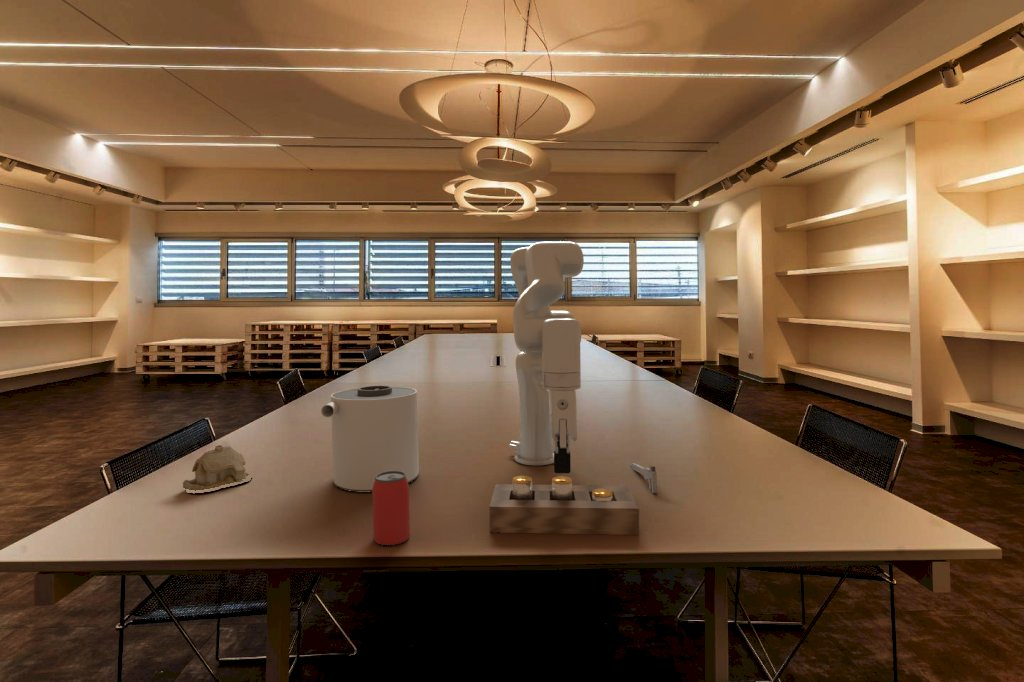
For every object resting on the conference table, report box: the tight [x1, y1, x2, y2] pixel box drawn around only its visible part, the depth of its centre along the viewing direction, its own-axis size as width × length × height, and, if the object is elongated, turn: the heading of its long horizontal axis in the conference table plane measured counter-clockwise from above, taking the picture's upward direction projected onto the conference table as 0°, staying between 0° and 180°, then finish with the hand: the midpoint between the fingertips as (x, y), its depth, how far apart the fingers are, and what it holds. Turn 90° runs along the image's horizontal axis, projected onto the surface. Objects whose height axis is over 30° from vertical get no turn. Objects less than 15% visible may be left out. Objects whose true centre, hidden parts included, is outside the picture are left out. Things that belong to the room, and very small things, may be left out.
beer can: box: [371, 471, 411, 547], centre depth 88 cm, size 7×7×12 cm
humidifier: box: [320, 385, 420, 491], centre depth 120 cm, size 22×21×23 cm
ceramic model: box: [182, 444, 250, 491], centre depth 118 cm, size 14×11×10 cm
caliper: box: [629, 462, 658, 494], centre depth 119 cm, size 20×1×6 cm, turn 0°
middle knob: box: [551, 475, 573, 501], centre depth 95 cm, size 4×4×5 cm
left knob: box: [511, 475, 533, 500], centre depth 95 cm, size 4×4×5 cm
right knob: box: [592, 489, 612, 501], centre depth 95 cm, size 4×4×5 cm
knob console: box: [489, 483, 640, 536], centre depth 95 cm, size 28×12×5 cm, turn 86°
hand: (562, 471), depth 95 cm, fingers closed
